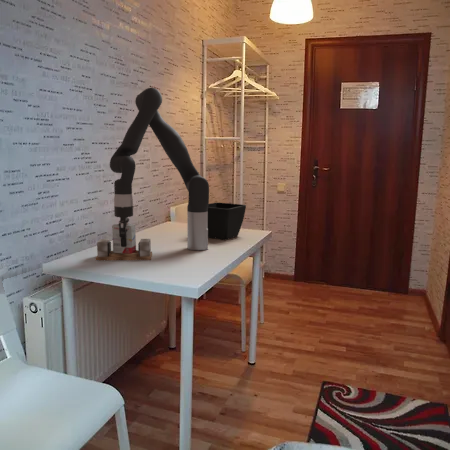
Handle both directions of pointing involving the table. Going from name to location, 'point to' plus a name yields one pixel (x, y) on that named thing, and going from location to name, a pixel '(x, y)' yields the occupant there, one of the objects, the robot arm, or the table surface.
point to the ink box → (129, 239)
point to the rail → (107, 254)
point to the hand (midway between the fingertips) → (124, 244)
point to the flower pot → (225, 220)
